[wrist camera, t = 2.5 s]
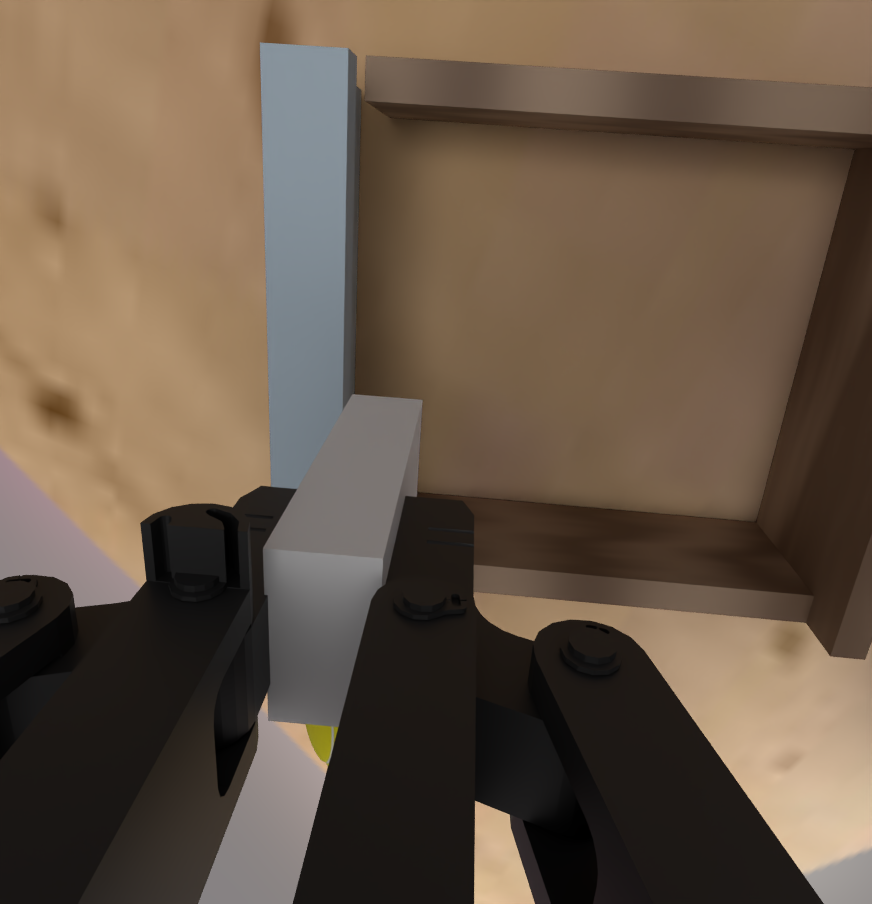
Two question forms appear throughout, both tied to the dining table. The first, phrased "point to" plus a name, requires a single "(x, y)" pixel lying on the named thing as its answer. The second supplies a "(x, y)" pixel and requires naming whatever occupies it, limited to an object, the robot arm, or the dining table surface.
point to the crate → (812, 395)
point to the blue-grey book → (309, 245)
